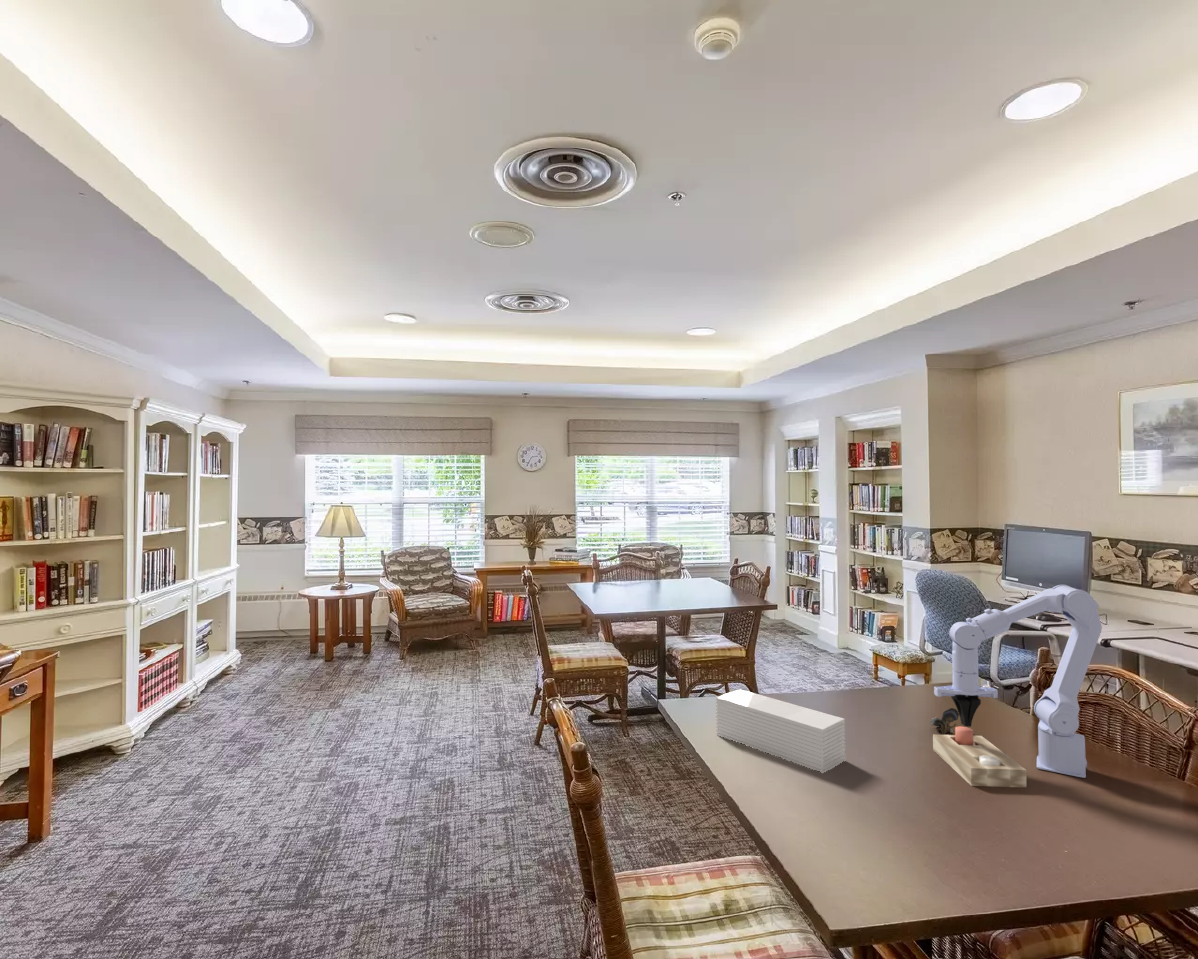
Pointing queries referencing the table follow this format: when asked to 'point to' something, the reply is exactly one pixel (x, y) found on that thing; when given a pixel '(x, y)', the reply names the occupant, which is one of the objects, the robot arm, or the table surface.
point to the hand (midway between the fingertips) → (966, 725)
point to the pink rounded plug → (964, 736)
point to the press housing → (971, 769)
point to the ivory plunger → (988, 760)
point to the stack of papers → (782, 729)
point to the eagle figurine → (946, 720)
